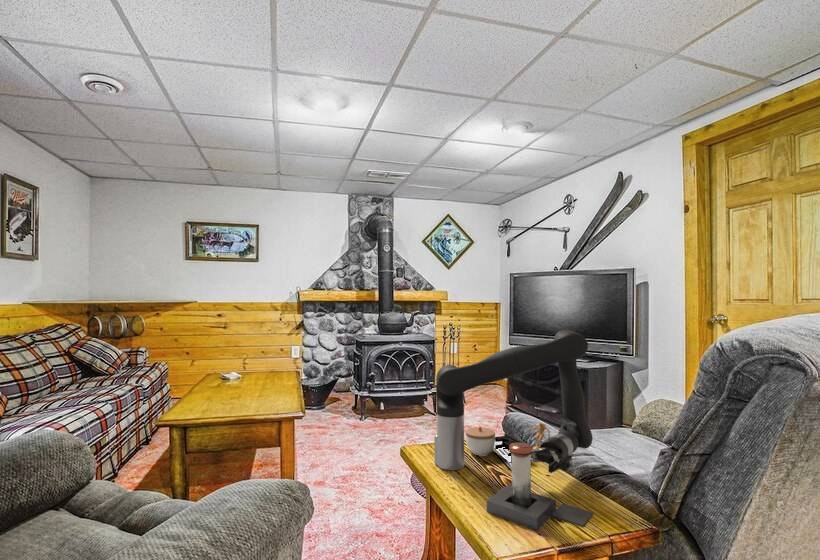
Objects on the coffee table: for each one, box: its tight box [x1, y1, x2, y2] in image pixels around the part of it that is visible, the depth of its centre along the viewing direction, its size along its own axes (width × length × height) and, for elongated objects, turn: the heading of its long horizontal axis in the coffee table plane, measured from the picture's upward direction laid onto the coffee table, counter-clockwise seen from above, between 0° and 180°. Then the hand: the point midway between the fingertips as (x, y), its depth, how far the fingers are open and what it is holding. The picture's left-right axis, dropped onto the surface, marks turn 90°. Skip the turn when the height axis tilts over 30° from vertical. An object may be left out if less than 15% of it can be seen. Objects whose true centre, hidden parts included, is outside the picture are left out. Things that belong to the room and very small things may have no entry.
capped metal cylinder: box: [509, 442, 534, 509], centre depth 114 cm, size 6×6×17 cm
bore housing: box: [486, 484, 557, 531], centre depth 114 cm, size 14×12×3 cm
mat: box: [551, 502, 594, 528], centre depth 112 cm, size 8×8×1 cm
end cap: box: [494, 432, 524, 456], centre depth 152 cm, size 10×7×7 cm
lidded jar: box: [464, 426, 496, 457], centre depth 156 cm, size 11×11×9 cm
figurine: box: [530, 422, 551, 459], centre depth 152 cm, size 8×6×12 cm
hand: (535, 465), depth 121 cm, fingers open, 8 cm apart
